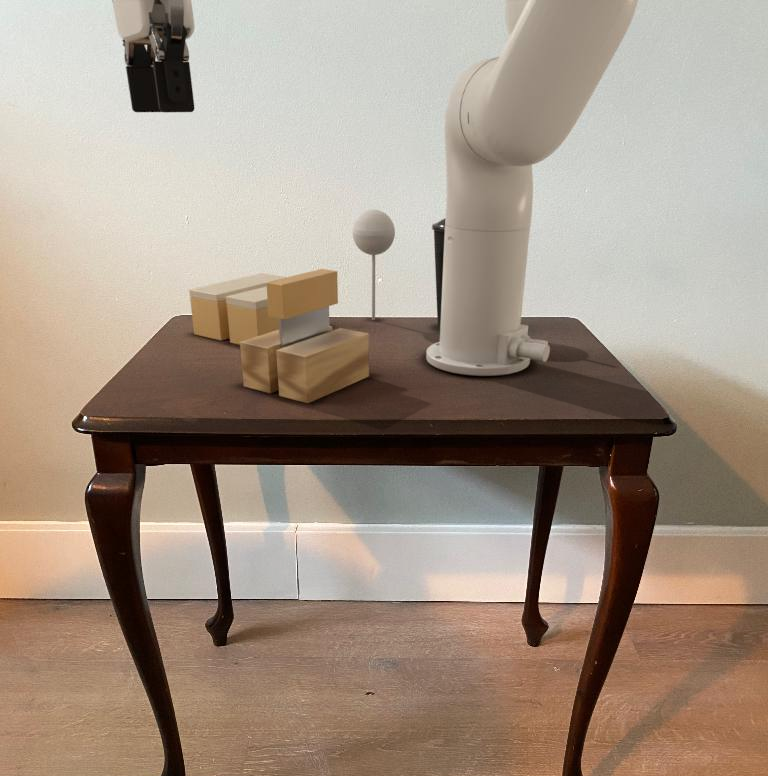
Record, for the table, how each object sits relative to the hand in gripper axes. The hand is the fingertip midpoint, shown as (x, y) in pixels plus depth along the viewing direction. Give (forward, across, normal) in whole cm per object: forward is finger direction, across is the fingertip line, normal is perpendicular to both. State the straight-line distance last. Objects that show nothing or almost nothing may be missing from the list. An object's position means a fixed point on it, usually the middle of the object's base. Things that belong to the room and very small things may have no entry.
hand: (162, 112), depth 71 cm
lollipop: (+27, +12, -30) cm, 42 cm away
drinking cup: (+27, +2, -38) cm, 47 cm away
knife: (+27, -8, -10) cm, 30 cm away
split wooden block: (+27, -8, -10) cm, 30 cm away
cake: (+27, +14, -14) cm, 33 cm away
